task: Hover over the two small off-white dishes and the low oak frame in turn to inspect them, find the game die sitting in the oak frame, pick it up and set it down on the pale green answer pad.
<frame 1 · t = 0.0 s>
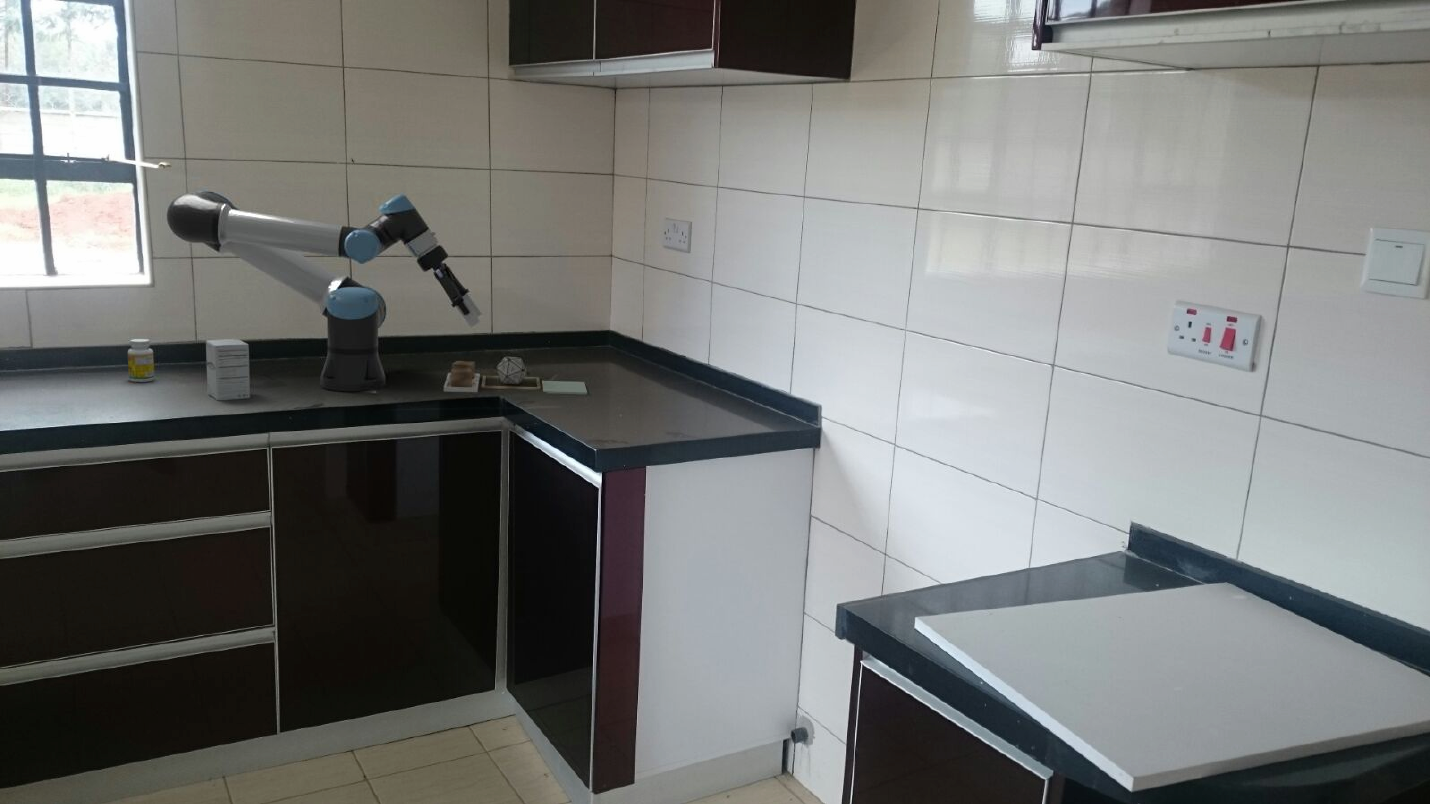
hand: (476, 320, 276), 15 cm above the counter, tool tilted 35°, fingers open, 13 cm apart
game die: (511, 386, 274), on the counter
dish back: (463, 382, 273), on the counter
block front: (461, 388, 264), point 1 cm above the counter, touching dish front
dish front: (461, 390, 264), on the counter
block back: (463, 380, 273), point 1 cm above the counter, touching dish back
answer pad: (564, 388, 274), on the counter
supplement bottle: (141, 381, 252), on the counter
oak frame: (511, 385, 273), on the counter
supplement box: (228, 397, 242), on the counter
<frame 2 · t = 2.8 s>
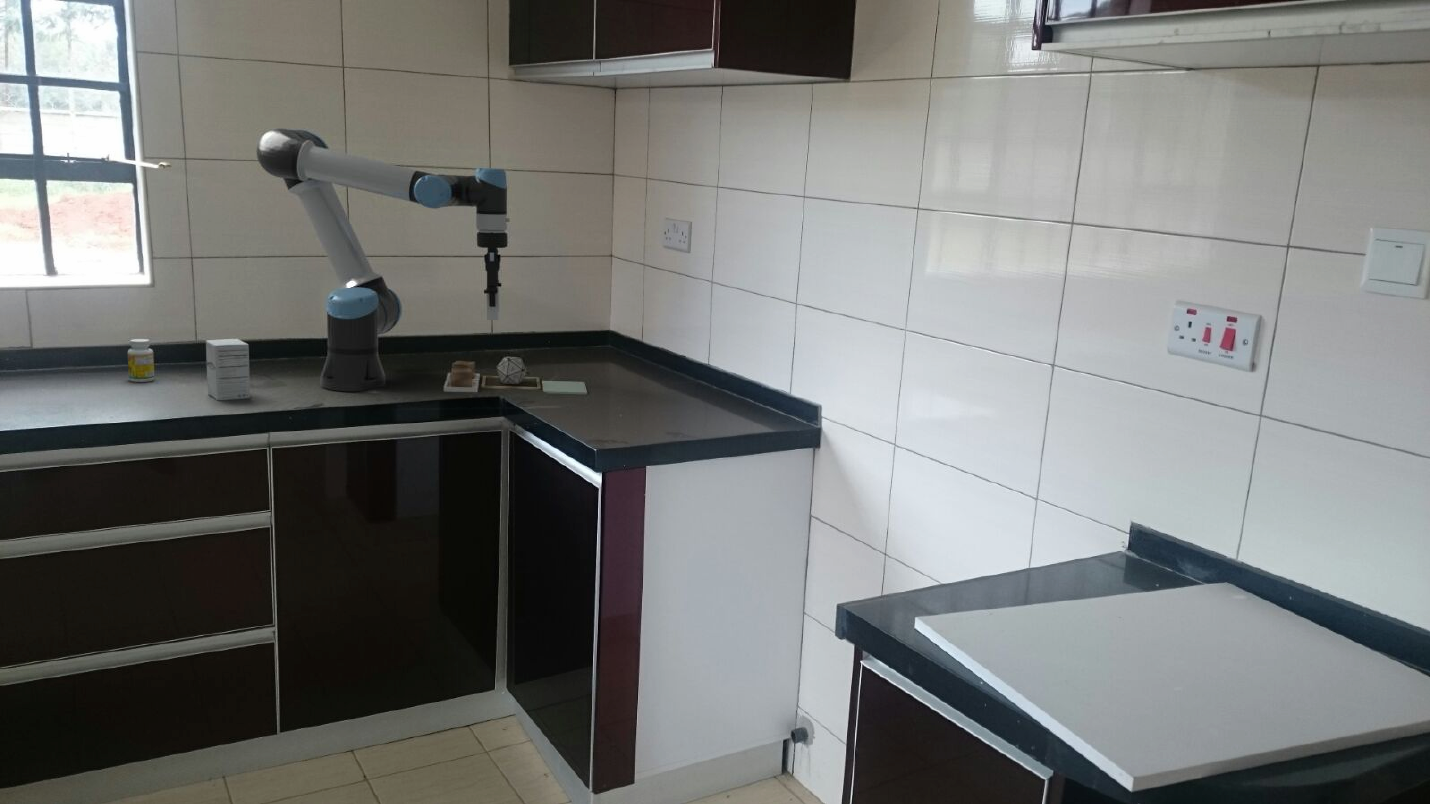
hand: (493, 316, 270), 18 cm above the counter, tool pointing down, fingers open, 13 cm apart
nothing on the counter moved.
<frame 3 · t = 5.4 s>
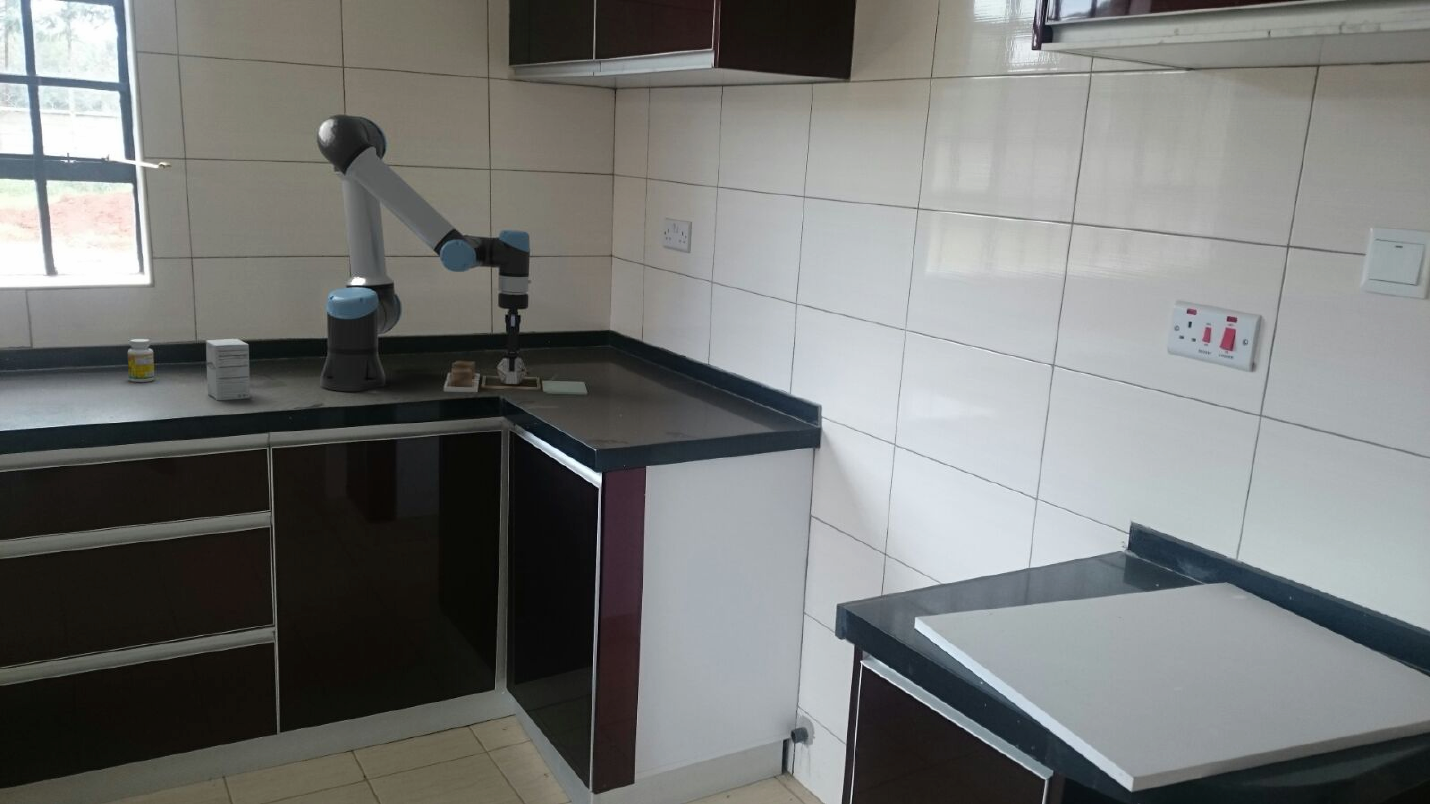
hand: (511, 379, 273), 2 cm above the counter, tool pointing down, fingers closed on game die, 9 cm apart
game die: (511, 386, 273), on the counter, touching gripper
everything else where it was.
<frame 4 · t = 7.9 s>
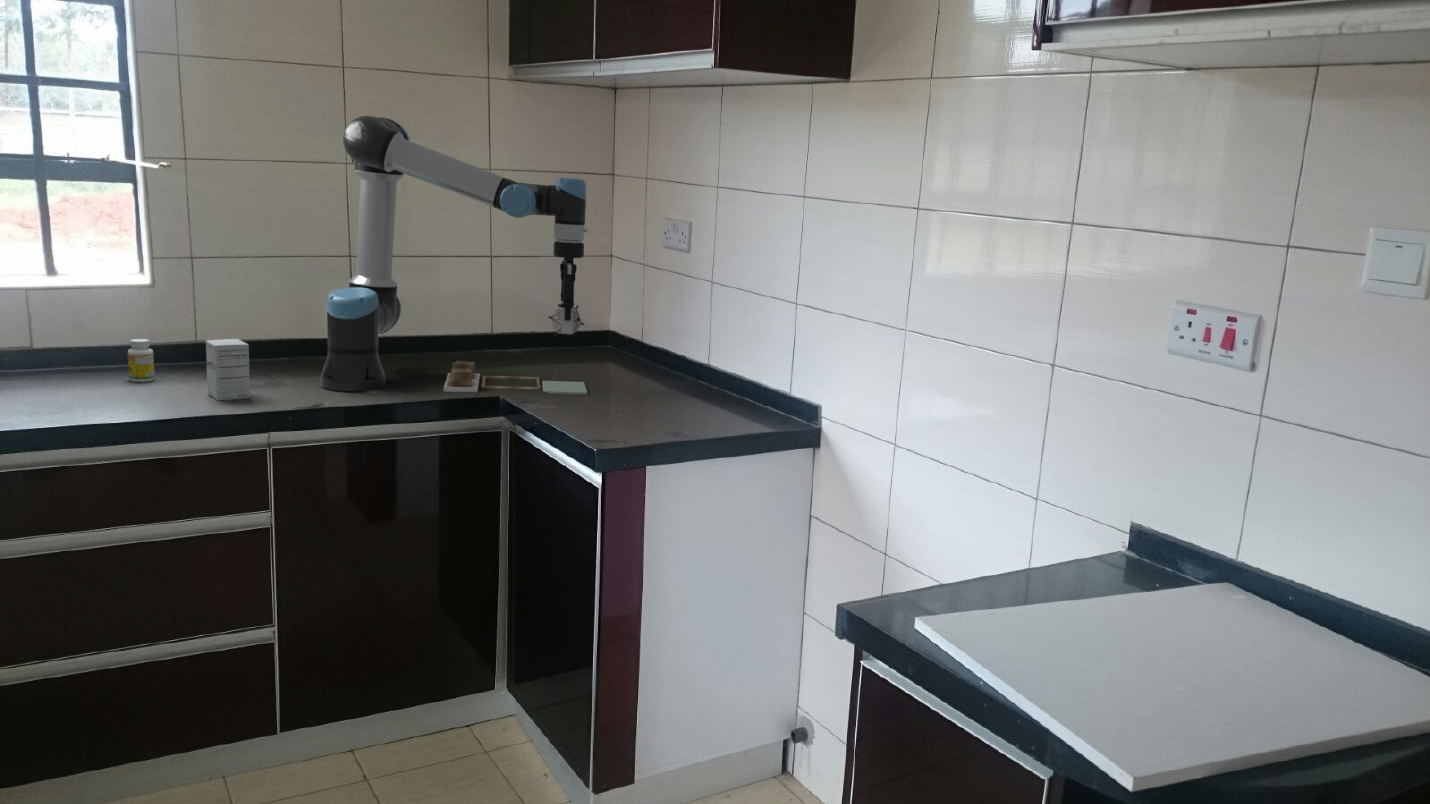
hand: (566, 330, 271), 15 cm above the counter, tool pointing down, fingers closed on game die, 9 cm apart
game die: (565, 336, 271), point 14 cm above the counter, touching gripper
everything else where it was.
when the fingers open (3 cm above the counter, at t = 10.5 s): game die drops 1 cm, resting on answer pad.
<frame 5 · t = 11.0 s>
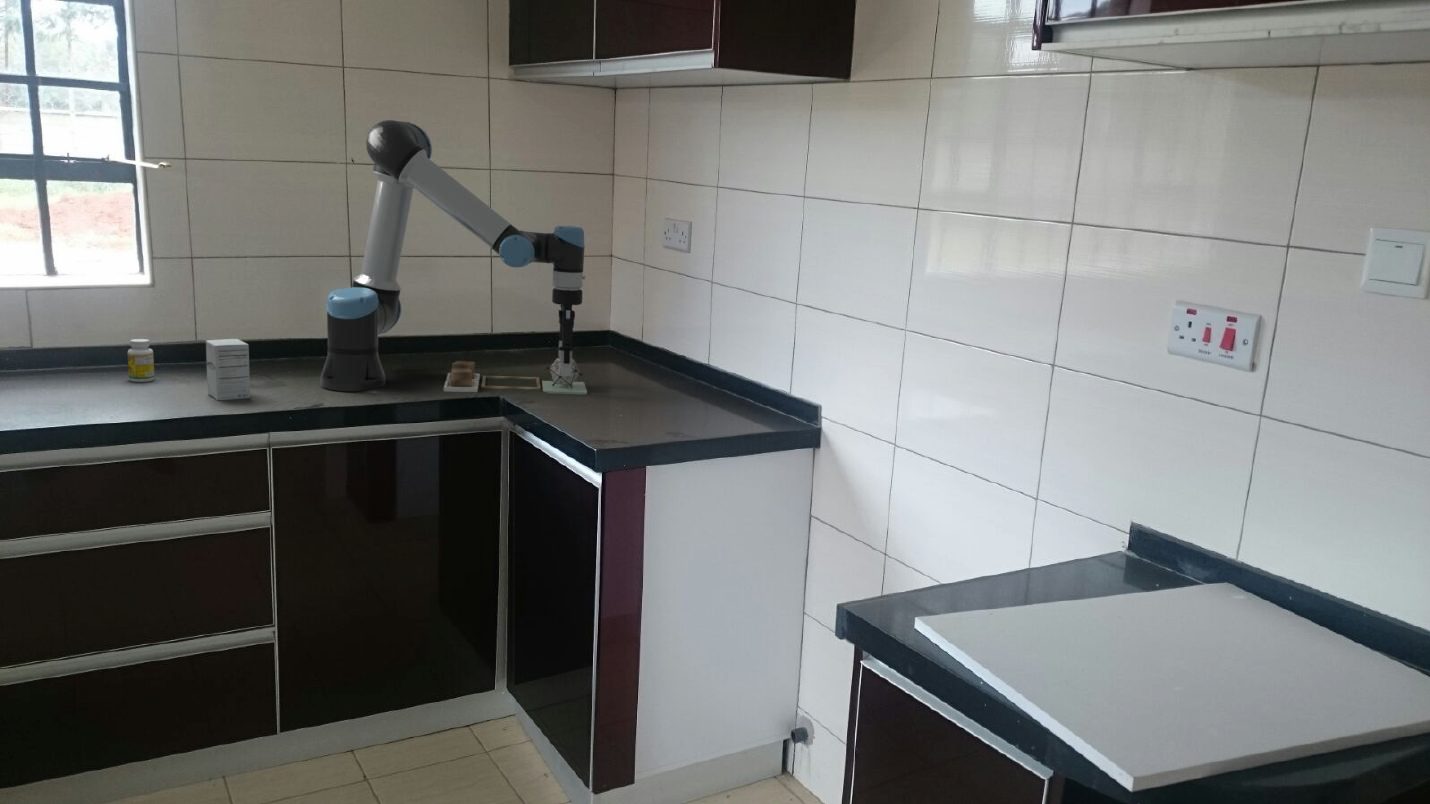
hand: (564, 370, 273), 5 cm above the counter, tool pointing down, fingers open, 13 cm apart
game die: (563, 387, 274), resting on answer pad
everything else where it was.
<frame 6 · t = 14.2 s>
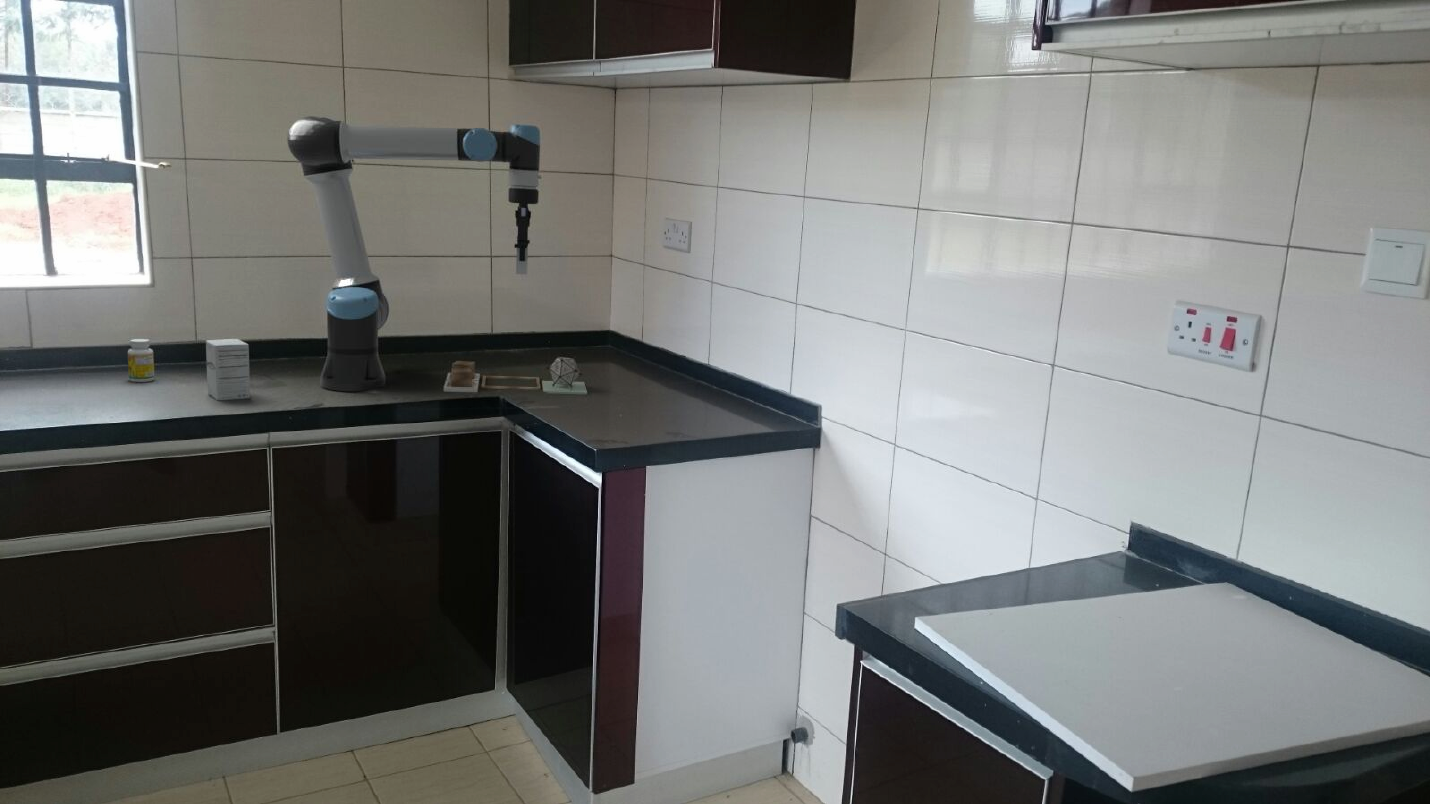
hand: (521, 271, 274), 29 cm above the counter, tool pointing down, fingers open, 13 cm apart
nothing on the counter moved.
at the end: game die inside the target area on the answer pad (0.2 cm from its centre), point 0.4 cm above the answer pad's base; game die tilted 1°; the gripper is holding nothing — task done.
